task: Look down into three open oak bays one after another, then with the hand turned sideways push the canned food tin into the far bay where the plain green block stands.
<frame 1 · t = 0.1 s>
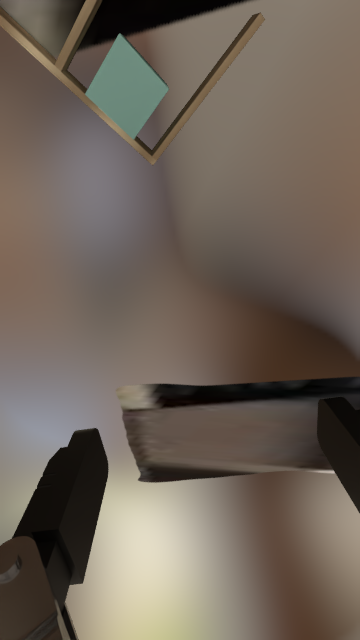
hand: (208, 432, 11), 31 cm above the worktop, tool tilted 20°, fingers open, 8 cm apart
plain green block: (130, 86, 29), resting in bay rack
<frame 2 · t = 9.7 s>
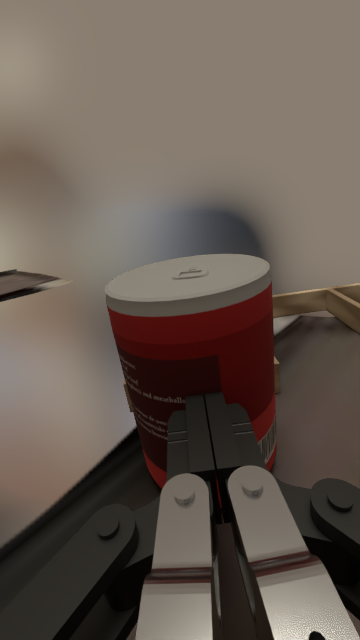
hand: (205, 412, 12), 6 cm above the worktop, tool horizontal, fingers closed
canned food: (210, 453, 18), on the worktop, touching gripper
bay rack: (308, 342, 28), on the worktop
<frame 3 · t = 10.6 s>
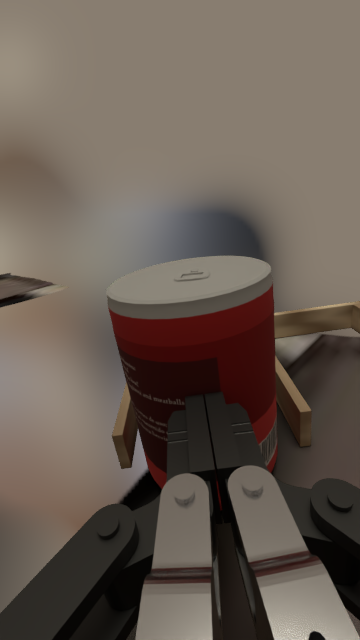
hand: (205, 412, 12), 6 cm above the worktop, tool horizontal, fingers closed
canned food: (211, 454, 18), on the worktop, touching gripper
bay rack: (336, 370, 24), on the worktop
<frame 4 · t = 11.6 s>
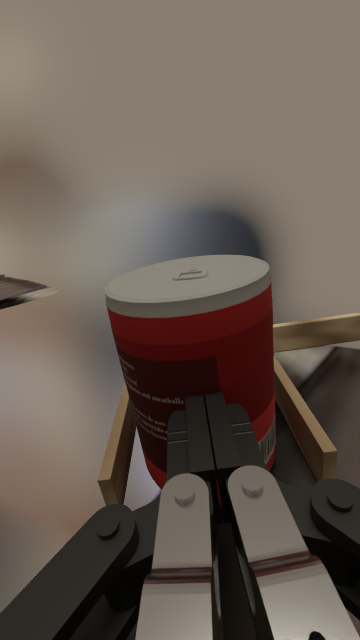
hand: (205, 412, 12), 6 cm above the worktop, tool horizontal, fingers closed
canned food: (210, 453, 18), on the worktop, touching gripper
bay rack: (355, 391, 21), on the worktop
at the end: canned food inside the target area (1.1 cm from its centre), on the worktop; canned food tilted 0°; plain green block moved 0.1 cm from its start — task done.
